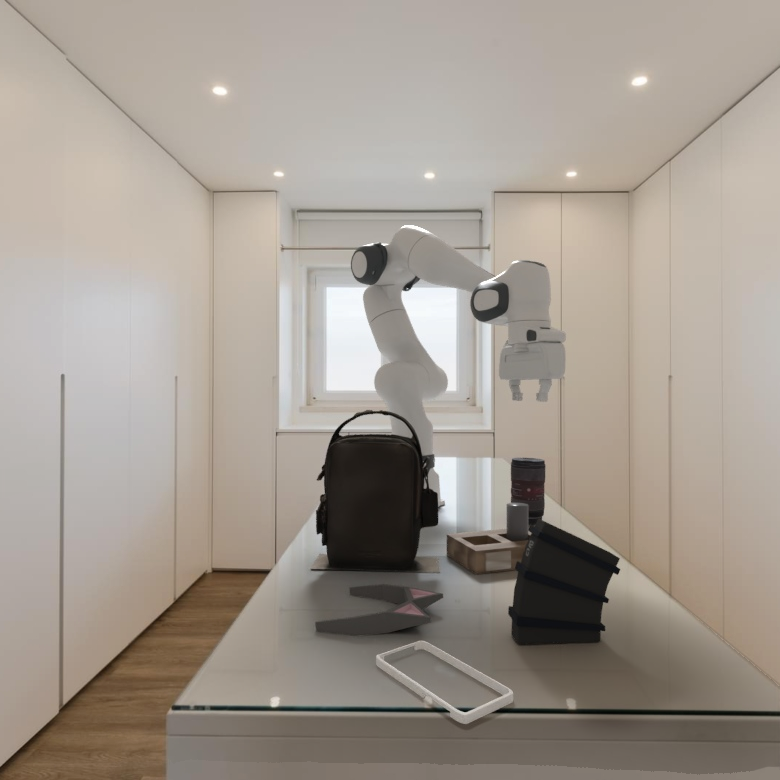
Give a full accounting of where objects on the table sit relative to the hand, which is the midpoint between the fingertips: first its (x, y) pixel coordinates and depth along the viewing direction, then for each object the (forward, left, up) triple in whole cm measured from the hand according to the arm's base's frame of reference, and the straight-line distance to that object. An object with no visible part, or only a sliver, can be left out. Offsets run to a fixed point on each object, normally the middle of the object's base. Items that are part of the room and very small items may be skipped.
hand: (529, 401), depth 121 cm
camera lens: (-13, +8, -29) cm, 33 cm away
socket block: (+12, -14, -29) cm, 34 cm away
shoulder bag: (+7, -36, -29) cm, 47 cm away
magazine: (+44, -23, -29) cm, 58 cm away
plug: (+12, -10, -29) cm, 33 cm away
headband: (+30, -42, -30) cm, 60 cm away
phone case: (+48, -42, -30) cm, 71 cm away
